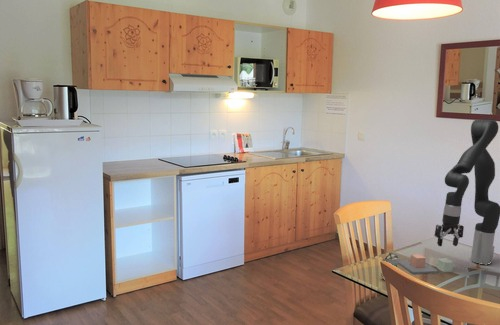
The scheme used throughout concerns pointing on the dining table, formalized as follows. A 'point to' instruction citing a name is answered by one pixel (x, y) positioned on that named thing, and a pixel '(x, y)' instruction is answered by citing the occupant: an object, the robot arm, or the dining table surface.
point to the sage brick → (445, 265)
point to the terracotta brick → (417, 261)
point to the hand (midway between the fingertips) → (447, 245)
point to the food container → (392, 259)
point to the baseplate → (417, 270)
